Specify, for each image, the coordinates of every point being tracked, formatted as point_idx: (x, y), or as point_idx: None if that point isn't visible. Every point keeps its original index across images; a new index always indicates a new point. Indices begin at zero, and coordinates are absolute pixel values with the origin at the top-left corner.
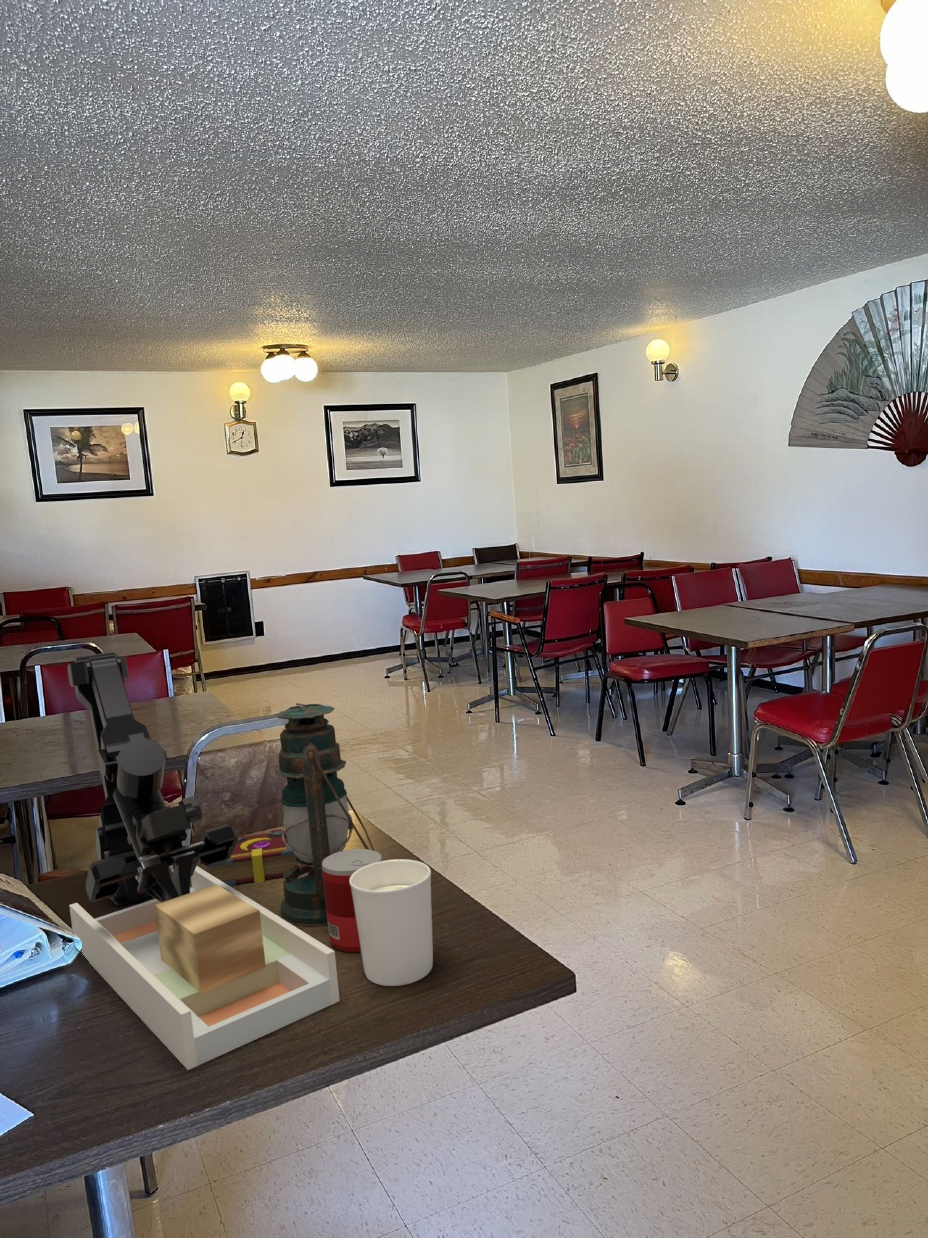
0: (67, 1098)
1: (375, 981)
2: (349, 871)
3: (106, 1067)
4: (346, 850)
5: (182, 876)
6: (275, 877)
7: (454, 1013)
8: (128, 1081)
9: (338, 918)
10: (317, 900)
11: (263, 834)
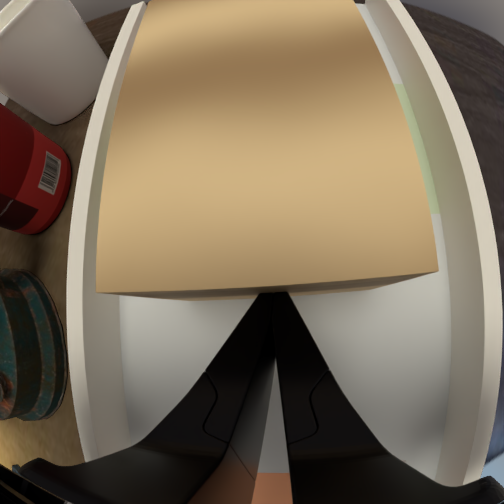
0: (493, 83)
1: None
2: None
3: (465, 99)
4: None
5: (204, 439)
6: None
7: (118, 12)
8: (437, 59)
9: (36, 142)
10: (8, 290)
11: None
